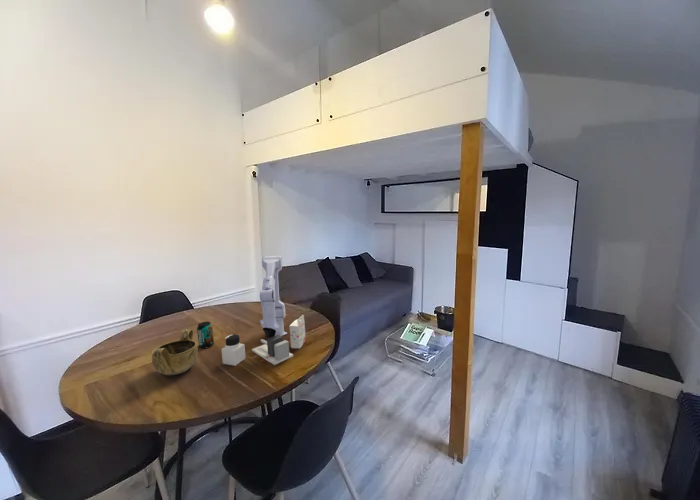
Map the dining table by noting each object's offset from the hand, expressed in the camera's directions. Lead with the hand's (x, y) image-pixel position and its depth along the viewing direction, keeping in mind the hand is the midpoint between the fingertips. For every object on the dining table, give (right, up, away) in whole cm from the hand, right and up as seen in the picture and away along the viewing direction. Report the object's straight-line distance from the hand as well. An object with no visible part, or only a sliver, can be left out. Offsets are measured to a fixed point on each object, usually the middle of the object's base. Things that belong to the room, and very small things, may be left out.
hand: (271, 341), depth 136 cm
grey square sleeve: (+3, -5, -2) cm, 6 cm away
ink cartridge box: (+11, -5, +9) cm, 15 cm away
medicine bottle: (-16, -7, -5) cm, 18 cm away
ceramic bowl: (-37, -9, -12) cm, 40 cm away
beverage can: (-37, -6, +12) cm, 39 cm away
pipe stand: (0, -6, +1) cm, 6 cm away
